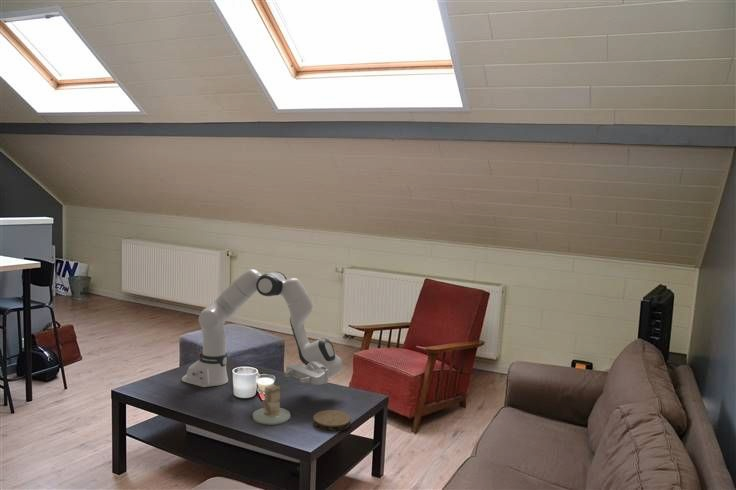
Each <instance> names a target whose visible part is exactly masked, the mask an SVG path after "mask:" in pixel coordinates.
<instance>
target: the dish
mask: <svg viewBox="0 0 736 490" xmlns="http://www.w3.org/2000/svg"><path fill="white" fill-rule="evenodd" d="M252 419H253V421H254V422H255V423H258V424H260V425H264V426H266V425H267V426H277V425H281V424H284V423H287V422H289V420H290V419H291V413H290V411H289V410H287V409H286V408H282V407H279V415H276V416H274V417H269V416H267V415H265V414H264V407H261V408H258V409H256V410H254V412H253V413H252Z"/></svg>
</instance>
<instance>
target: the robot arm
mask: <svg viewBox="0 0 736 490" xmlns="http://www.w3.org/2000/svg"><path fill="white" fill-rule="evenodd" d="M256 293H259V294H260V295H261V296H264V297H272V296H273V297H274V296H279V295H280V296H282V297H283V299H284V301H285V303H286V305H287V307H288V310H289V324H290V327H291V328H290V329H291V331H292V334H293V337H294V341H295V342H296V346H297V350H298V356H299V357H298V358H299V360H300V361H301V363H302V364H301V363H293V364H289V365H287V366H286V368H285V372H284V377H287V378H288V377H290V376H292V377H294V378H297V379H298V382H299V383H301V384H303V383H308V384H309V383H310V384H312V385H314V386H320V385H323V384H324V385H325V384H328V382H329V378H330V377H332V376H335V375H337V374H339V373H340V372H341V370H342V369H343V360H342V359H341V357H340V356H339V355H337V353H336V352H335V348H334V345H333V343H332V342H331V340H329V339H327V338H323V337H322V338H320V339H317V340H315V341H313V342H310V341H309V337H308V335H307V332H306V328H305V322H306V320H307V319H308V318H309V317H310V315H311V314H312V311H313V303H312V300H311V298H310V295H309V293H308V291H307V289H306V288H305V286H304V285H303V283H302V282H301V280H300V279H299V278H297V277H289V278H287V277H286V275H285V273H282V272H280V271H271V272H268V273H267V272H266V273H265V274H262V273H261V272H260V271H258V270H257V269H255V268H250V269H247V270H246V271H245V272H243V273H241V274H240V275H239V276H237V278H235V280H233V281H232V282H231V284H229V285H228V286H227V288H225V289H224V290H223V291H222V292H221V294H220V295H219V296H218V297H217V298H216V299H215V300H214V301H213V302H212V303H211V304H209V305H208V306H207V307H204V309H203V310H202V311H201V312H200V314H199V315H198V324H199V326H200V328H201V333H202V352H201V353H199V354H198V355H197V358H199V359H198V360H196V361H195V362H194V363H192V364H191V365H190V366H189V367H188V369H187V371H186V374H185V375H184V376H182V377H181V382H183V383H187V384H190V385H194V386H199V387H202V388H206V387H207V388H208V387H215V386H222V385H225V384H226V383H228V382H229V378H228V377H229V376H228V373H227V360H228V358H227V357H228V356H227V355H228V354H227V337H226V334H225V328H224V325H225V323H226V322H227V321H228V320H229V319H230V318H231V317H232V316H233V315H234V314H235V313H236V312H237V311H239V308H241V307H242V306H243V305H244V304H245V303H246V302H247V301H248V300H249V299H250V298H251V297H252V296H253V295H254V294H256ZM303 364H304V365H303Z"/></svg>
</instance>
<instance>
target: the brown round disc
mask: <svg viewBox="0 0 736 490" xmlns="http://www.w3.org/2000/svg"><path fill="white" fill-rule="evenodd" d="M351 420H352V419H351V416H350V414H349V413H346V412H345V411H341V410H335V409H333V410H332V409H327V410H320V411H318V412H316V413H315V414H314V415H313V419H312V424H313V427H315V428H316V429H318V430H321V431H323V432H329V433H330V432H333V433H334V432H343V431H345V430H347V429H349V428H350V426H351Z"/></svg>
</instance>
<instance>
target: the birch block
mask: <svg viewBox="0 0 736 490" xmlns="http://www.w3.org/2000/svg"><path fill="white" fill-rule="evenodd" d="M280 405H281V387H280V386H277V385H275V384H271V385H267V386H264V402H263V406H264V407H263V408H264V414H265V415H267V416H269V417H274V416H276V415H279V408H281V406H280Z"/></svg>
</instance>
